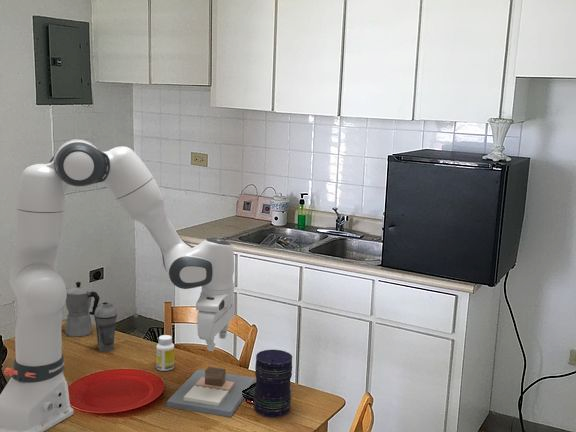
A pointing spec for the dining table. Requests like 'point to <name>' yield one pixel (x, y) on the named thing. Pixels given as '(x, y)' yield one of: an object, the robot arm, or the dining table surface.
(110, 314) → the beverage cup
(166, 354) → the supplement bottle
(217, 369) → the brown and pink block
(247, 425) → the dining table surface
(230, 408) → the board
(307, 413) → the dining table surface
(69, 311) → the coffeepot
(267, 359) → the storage jar
